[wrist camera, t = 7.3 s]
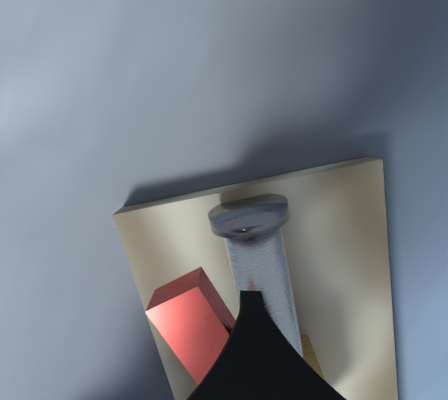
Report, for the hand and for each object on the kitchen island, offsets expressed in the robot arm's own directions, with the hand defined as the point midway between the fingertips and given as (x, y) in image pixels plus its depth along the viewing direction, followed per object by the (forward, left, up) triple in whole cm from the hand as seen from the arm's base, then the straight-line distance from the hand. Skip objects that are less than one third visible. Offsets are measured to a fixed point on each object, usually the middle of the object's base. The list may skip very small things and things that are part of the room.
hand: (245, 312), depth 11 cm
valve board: (+1, -9, -7) cm, 11 cm away
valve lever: (-1, -4, 0) cm, 4 cm away
